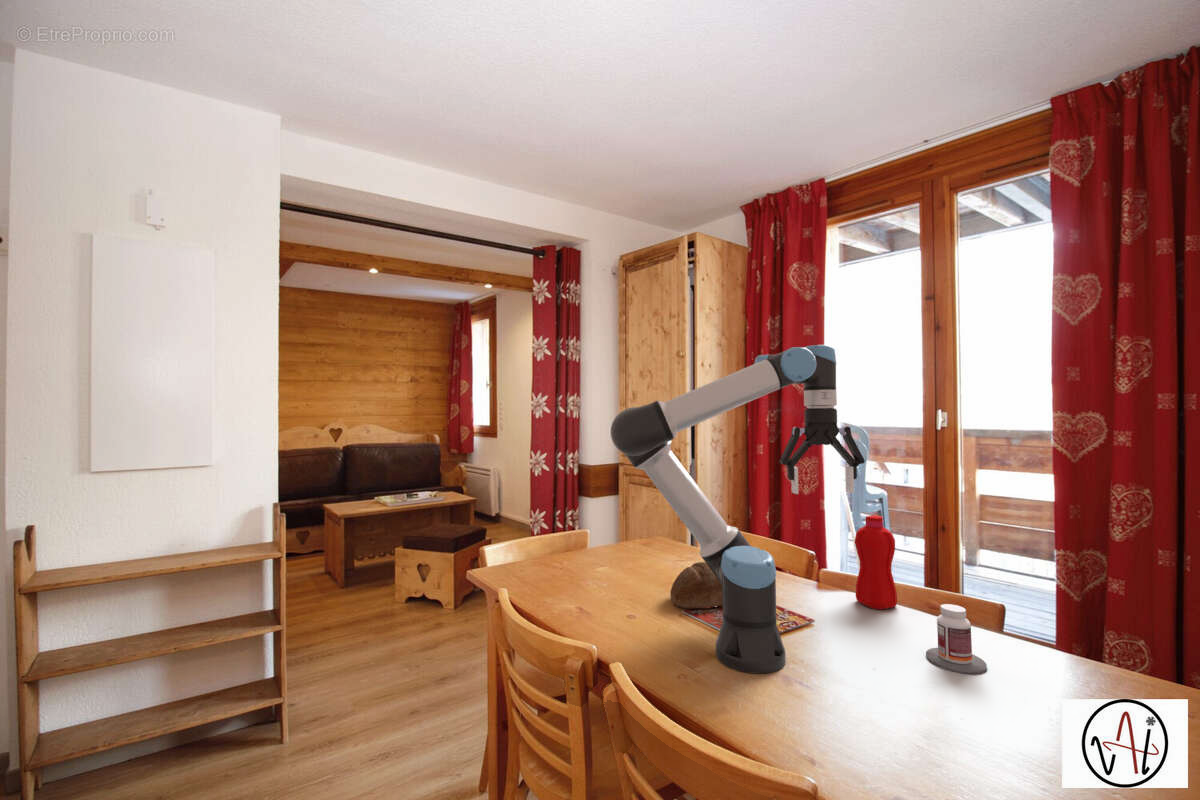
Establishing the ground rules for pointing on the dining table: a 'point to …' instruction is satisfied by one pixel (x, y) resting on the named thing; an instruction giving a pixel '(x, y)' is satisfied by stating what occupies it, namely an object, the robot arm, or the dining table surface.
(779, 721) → the dining table surface
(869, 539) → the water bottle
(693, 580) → the bread
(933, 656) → the coaster
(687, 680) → the dining table surface
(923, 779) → the dining table surface
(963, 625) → the pill bottle
